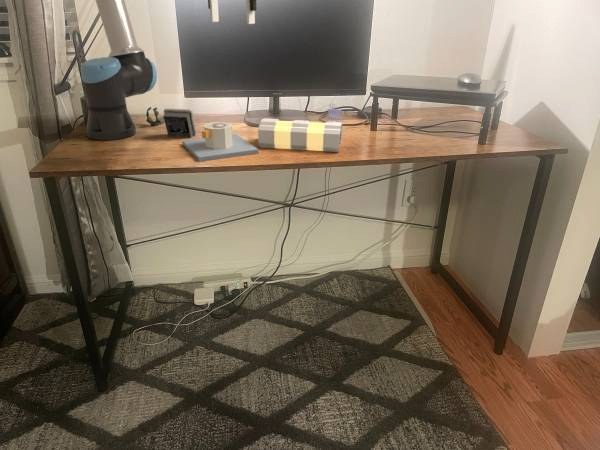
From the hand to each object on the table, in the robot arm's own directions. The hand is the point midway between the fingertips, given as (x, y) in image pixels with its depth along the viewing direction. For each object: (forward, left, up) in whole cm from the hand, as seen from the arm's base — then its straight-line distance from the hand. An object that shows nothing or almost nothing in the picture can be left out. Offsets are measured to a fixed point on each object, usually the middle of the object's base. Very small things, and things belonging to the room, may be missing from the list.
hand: (232, 22), depth 130 cm
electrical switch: (-10, -16, -35) cm, 40 cm away
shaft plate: (+8, -9, -35) cm, 37 cm away
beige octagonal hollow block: (+9, -10, -34) cm, 36 cm away
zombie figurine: (-30, -18, -35) cm, 50 cm away
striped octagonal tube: (+15, +15, -35) cm, 41 cm away
